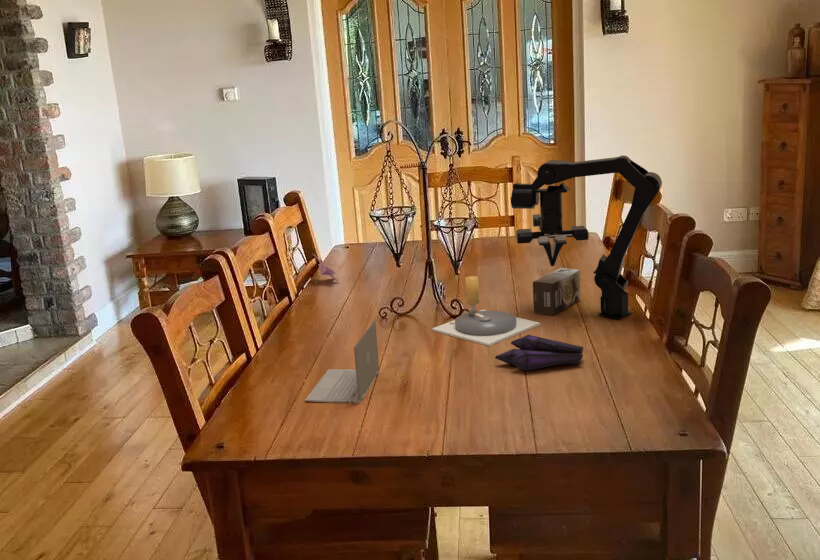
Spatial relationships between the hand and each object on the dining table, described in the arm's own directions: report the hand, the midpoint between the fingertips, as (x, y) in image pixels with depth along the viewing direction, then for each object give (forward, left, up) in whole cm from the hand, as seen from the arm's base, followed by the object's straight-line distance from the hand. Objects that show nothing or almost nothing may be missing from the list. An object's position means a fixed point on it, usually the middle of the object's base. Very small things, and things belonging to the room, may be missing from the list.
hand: (552, 265), depth 223 cm
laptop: (+5, +70, -14) cm, 71 cm away
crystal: (-21, +33, -13) cm, 42 cm away
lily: (+79, +18, -13) cm, 82 cm away
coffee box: (+3, -12, -8) cm, 15 cm away
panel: (+6, +21, -13) cm, 25 cm away
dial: (+6, +21, -13) cm, 25 cm away
